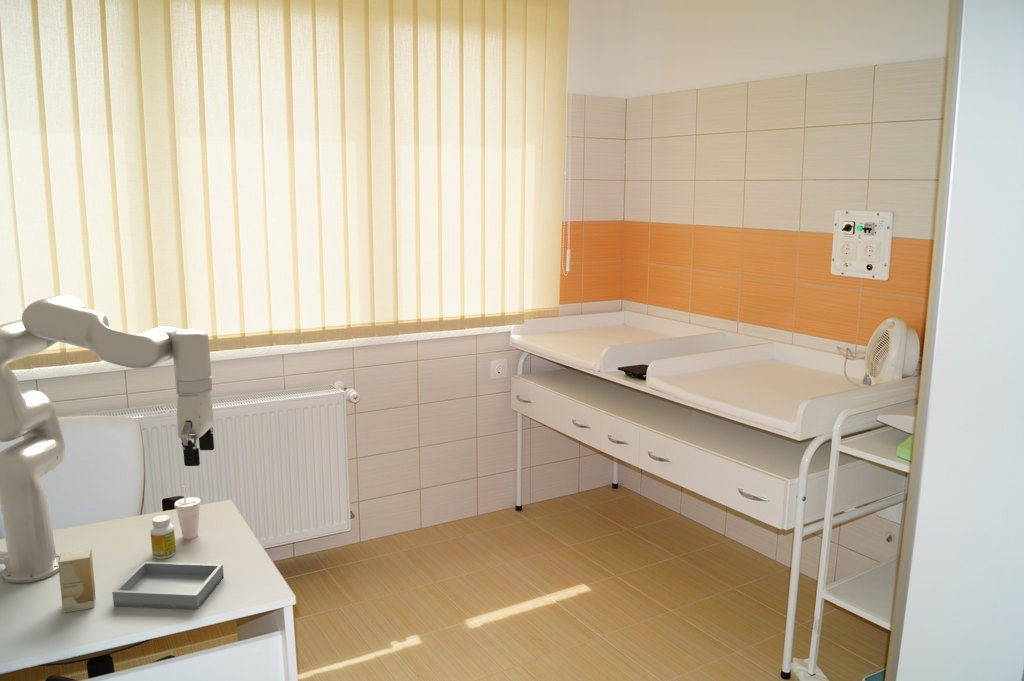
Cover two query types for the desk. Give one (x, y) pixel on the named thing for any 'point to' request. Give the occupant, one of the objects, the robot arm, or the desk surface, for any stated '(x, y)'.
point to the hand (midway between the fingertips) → (199, 457)
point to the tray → (168, 585)
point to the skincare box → (77, 580)
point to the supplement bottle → (162, 537)
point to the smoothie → (188, 515)
